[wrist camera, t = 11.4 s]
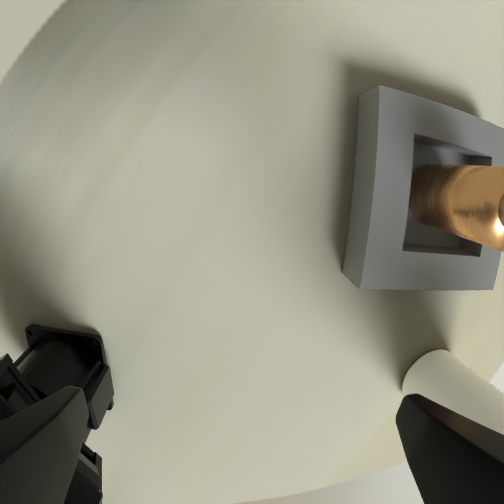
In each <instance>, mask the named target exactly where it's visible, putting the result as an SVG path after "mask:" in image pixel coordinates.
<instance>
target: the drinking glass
mask: <svg viewBox="0 0 504 504" xmlns="http://www.w3.org/2000/svg"><path fill="white" fill-rule="evenodd" d="M402 392H403V396H406V395H408V394H414V393H418V394H420V395H422V396H424V397H426V398H428V399H430V400H432V401H434V402H436V403H438V404H440V405H442V406H444V407H446V408H448V409H450V410H452V411H454V412H456V413H458V414H460V415H462V416H465V417H467V418H469V419H471V420H473V421H475V422H477V423H479V424H481V425H483V426H486V427H488V428H490V429H492V430H494V431H496V432H499V433H501V434H503V435H504V393H503V392H501V391H500V390H499V389H497V388H496V387H495V386H493V385H492V384H490V383H489V382H488V381H486V380H485V379H484V378H482V377H481V376H480V375H478V374H477V373H476V372H474V371H473V370H472V369H470V368H469V367H468V366H466V365H465V364H464V363H462V362H461V361H460V360H459V359H458V358H457V357H456V356H454V355H453V354H452V353H451V352H449V351H447V350H442V349H439V350H434V351H431V352H428V353H426V354H425V355H423V356H422V357H420V358H419V359H418V360H417V361H416V362H415V363H414V364H413V365H412V366H411V367H410V369H409V370H408V372H407V374H406V376H405V378H404V381H403V385H402Z"/></svg>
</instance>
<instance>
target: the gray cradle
mask: <svg viewBox="0 0 504 504" xmlns="http://www.w3.org/2000/svg"><path fill="white" fill-rule="evenodd" d="M425 164H452V165H478V166H496V167H504V129H503V128H501V127H499V126H497V125H495V124H492V123H490V122H488V121H486V120H483V119H481V118H478V117H476V116H474V115H471V114H469V113H466V112H463V111H461V110H458V109H456V108H453V107H450V106H447V105H445V104H442V103H439V102H436V101H433V100H430V99H427V98H424V97H421V96H417V95H414V94H411V93H408V92H404V91H401V90H397V89H394V88H390V87H386V86H382V85H378V86H376V87H374V88H372V89H371V90H369V91H367V92H365V93H363V94H361V95H359V96H358V121H357V139H356V154H355V167H354V178H353V189H352V199H351V208H350V217H349V226H348V234H347V242H346V249H345V256H344V263H343V270H342V273H343V274H344V275H345V276H346V277H347V278H348V279H349V280H350V281H351V282H352V283H354V284H355V285H356V286H357V287H358V288H359V289H368V290H493V287H494V283H495V279H496V275H497V270H498V266H499V261H500V256H501V251H499V250H496V249H494V248H491V247H488V246H485V245H483V244H480V243H477V242H474V241H472V240H469V239H466V238H463V237H460V236H457V235H454V234H451V233H448V232H445V231H442V230H439V229H436V228H433V227H430V226H427V225H424V224H421V223H420V222H418V221H417V220H416V219H415V218H414V217H413V216H412V214H411V212H410V211H409V208H408V205H409V197H410V187H411V176H412V174H413V172H414V171H415V170H416V169H417V168H419V167H420V166H422V165H425Z"/></svg>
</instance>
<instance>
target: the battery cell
mask: <svg viewBox="0 0 504 504" xmlns="http://www.w3.org/2000/svg"><path fill="white" fill-rule="evenodd" d="M408 208H409V211H410V212H411V214H412V216H413V217H414V218H415V219H416V220H417V221H418V222H420V223H421V224H424V225H427V226H430V227H433V228H436V229H439V230H442V231H445V232H448V233H451V234H454V235H457V236H460V237H463V238H466V239H469V240H472V241H474V242H477V243H480V244H483V245H485V246H488V247H491V248H494V249H496V250H499V251H504V167H496V166H478V165H452V164H425V165H422V166H420V167H419V168H417V169H416V170H415V171H414V172H413V174H412V176H411V187H410V197H409V205H408Z"/></svg>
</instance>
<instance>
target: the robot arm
mask: <svg viewBox="0 0 504 504" xmlns="http://www.w3.org/2000/svg"><path fill="white" fill-rule="evenodd" d="M31 331H32V332H33V333H32V332H31ZM25 332H26V337H27V341H28V345H29V348H28V349H27V350H26V351H25V352H24V353H23V354H22V355H21V356H20V357H19V358H18V359H17V360H16V361H15V362H14V363H13V362H12V361H13V360H12V359H11V357H10V356H9V355H8V353H7V354H5V355H4V356H3V357H1V358H0V504H102V499H103V493H102V457H100V456H99V455H98V454H97V453H96V452H93V451H92V450H91V449H90V448H89V447H88V446H86V445H85V442H86V440H87V438H88V435H89V433H90V431H91V429H94V430H97V429H98V428H99V427H100V424H101V422H102V420H103V417H104V415H105V413H106V411H107V410H111V409H112V408H113V405H114V402H113V398H112V397H113V395H114V390H113V384H112V379H111V373H110V367H109V366H108V365H107V364H106V359H105V353H104V346H103V341H102V339H101V337H99V336H97V335H93V334H86V333H79V332H73V331H66V330H60V329H54V328H49V327H43V326H38V325H33V324H30V325H28V326H27V327H26V329H25ZM93 341H96V342H97V344H95V343H94V342H93ZM396 425H397V428H398V431H399V435H400V438H401V441H402V445H403V448H404V452H405V455H406V458H407V462H408V464H409V467H410V469H411V472H412V474H413V477H414V479H415V482H416V484H417V486H418V489H419V491H420V494H421V497H422V499H423V502H424V504H504V435H503V434H501V433H499V432H496V431H494V430H492V429H490V428H488V427H486V426H483V425H481V424H479V423H477V422H475V421H473V420H471V419H469V418H467V417H465V416H462V415H460V414H458V413H456V412H454V411H452V410H450V409H448V408H446V407H444V406H442V405H440V404H438V403H436V402H434V401H432V400H430V399H428V398H426V397H424V396H422V395H420V394H418V393H414V394H408V395H406V396H404V398H403V400H402V402H401V405H400V407H399V410H398V412H397V415H396Z"/></svg>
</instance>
